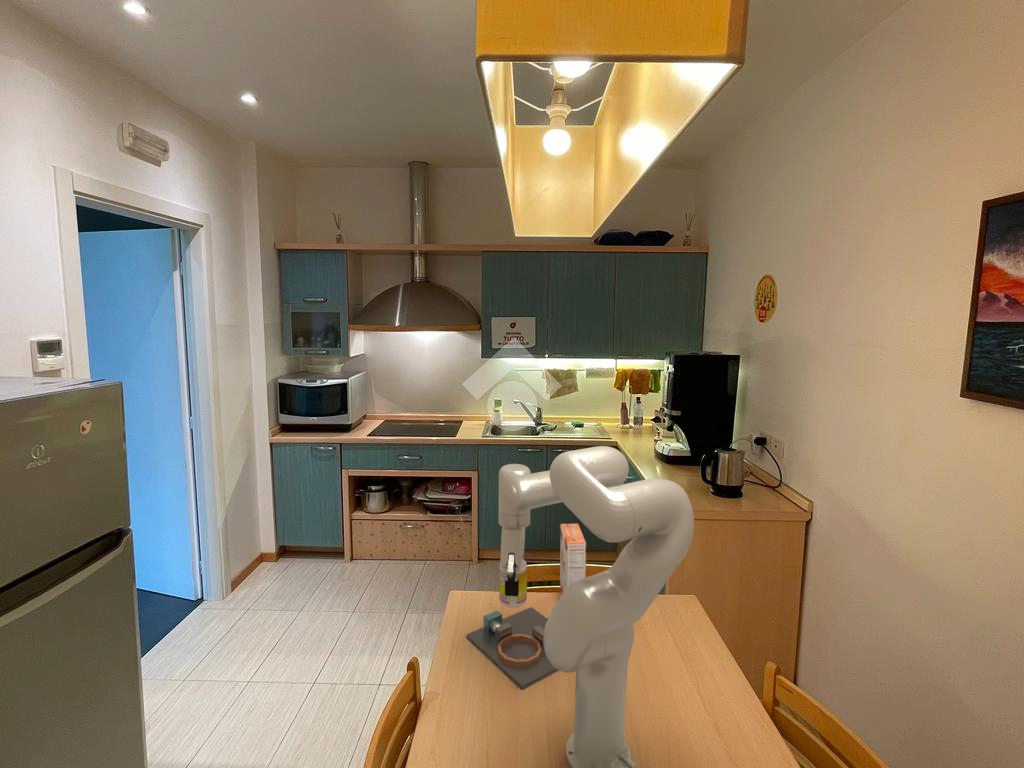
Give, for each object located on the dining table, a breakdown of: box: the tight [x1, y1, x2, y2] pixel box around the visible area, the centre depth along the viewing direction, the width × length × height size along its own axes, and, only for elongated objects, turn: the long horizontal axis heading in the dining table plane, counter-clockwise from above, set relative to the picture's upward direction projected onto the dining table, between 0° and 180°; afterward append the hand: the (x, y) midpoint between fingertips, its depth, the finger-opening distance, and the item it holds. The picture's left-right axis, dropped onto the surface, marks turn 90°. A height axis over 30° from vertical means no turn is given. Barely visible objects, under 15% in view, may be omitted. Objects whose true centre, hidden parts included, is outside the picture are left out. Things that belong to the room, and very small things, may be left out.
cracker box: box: [559, 523, 587, 594], centre depth 158 cm, size 14×6×21 cm, turn 2°
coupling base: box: [465, 606, 560, 691], centre depth 136 cm, size 24×22×5 cm
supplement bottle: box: [498, 558, 528, 608], centre depth 127 cm, size 7×7×13 cm
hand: (513, 586), depth 127 cm, fingers closed on supplement bottle, 6 cm apart
